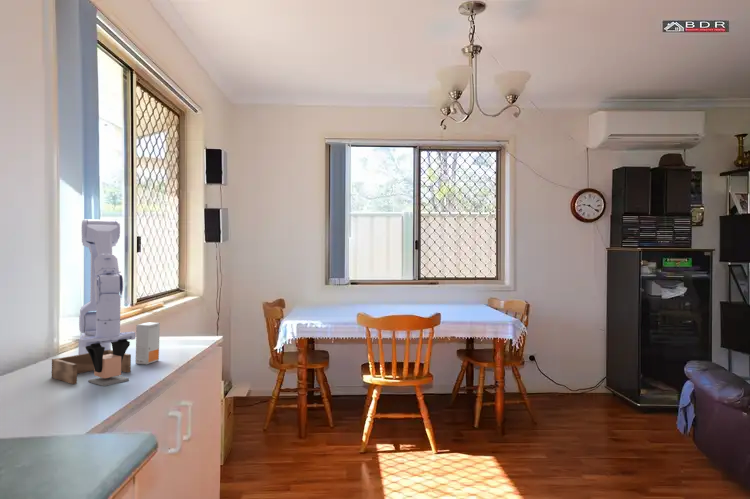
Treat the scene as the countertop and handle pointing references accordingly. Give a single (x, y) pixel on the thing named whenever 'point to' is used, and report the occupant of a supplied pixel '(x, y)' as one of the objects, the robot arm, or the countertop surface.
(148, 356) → the skincare box
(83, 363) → the open box
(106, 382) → the mat
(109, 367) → the block
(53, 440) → the countertop surface
